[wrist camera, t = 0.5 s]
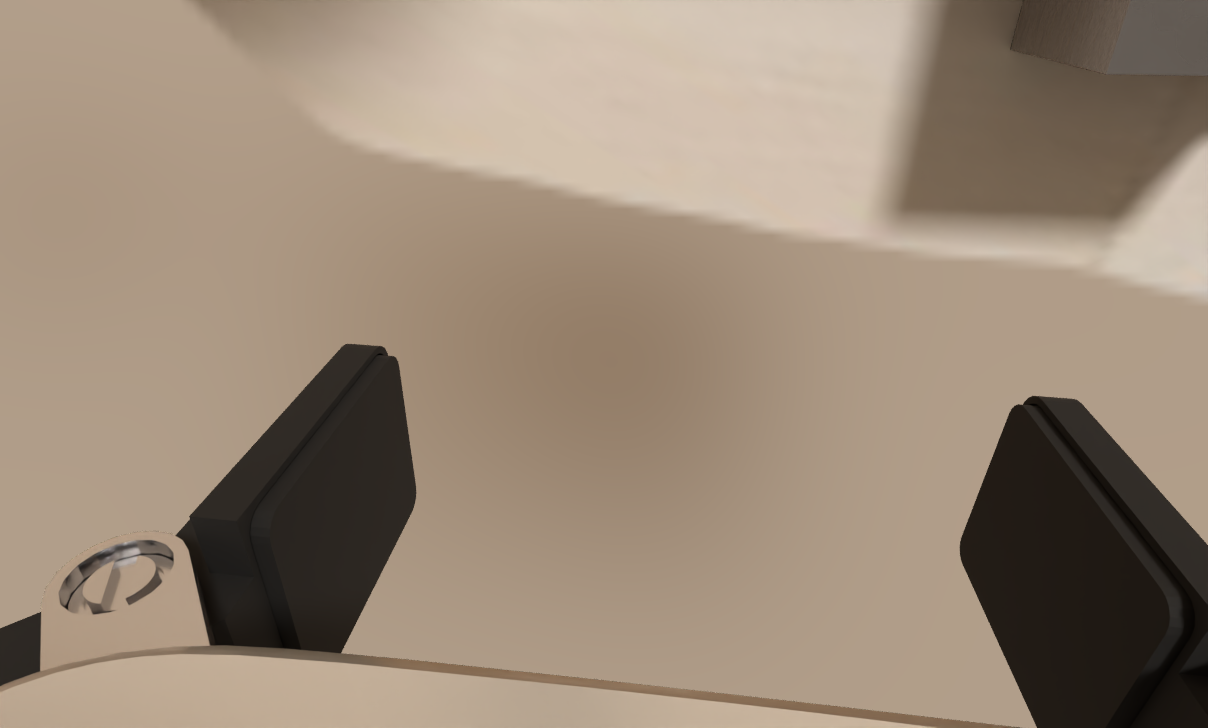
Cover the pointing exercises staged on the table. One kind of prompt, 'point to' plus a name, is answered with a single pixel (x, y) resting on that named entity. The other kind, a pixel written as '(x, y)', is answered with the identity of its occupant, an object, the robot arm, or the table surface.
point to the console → (1117, 35)
